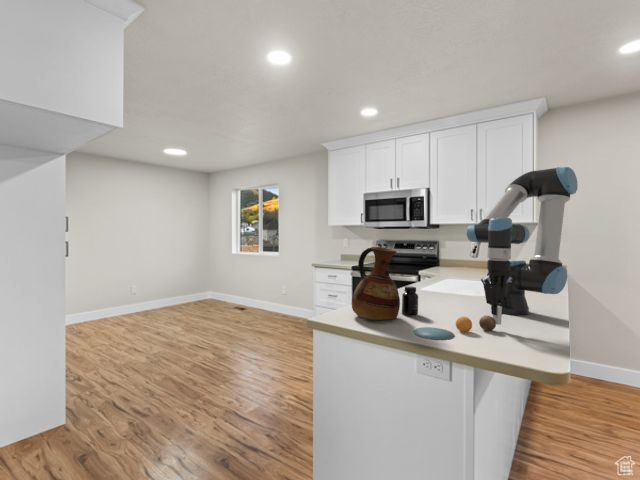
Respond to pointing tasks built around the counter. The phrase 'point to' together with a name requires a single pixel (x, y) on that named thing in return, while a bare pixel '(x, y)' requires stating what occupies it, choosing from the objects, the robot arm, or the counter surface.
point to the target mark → (433, 333)
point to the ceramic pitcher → (376, 288)
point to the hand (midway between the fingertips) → (496, 323)
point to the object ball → (463, 324)
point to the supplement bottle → (410, 301)
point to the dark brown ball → (487, 323)
